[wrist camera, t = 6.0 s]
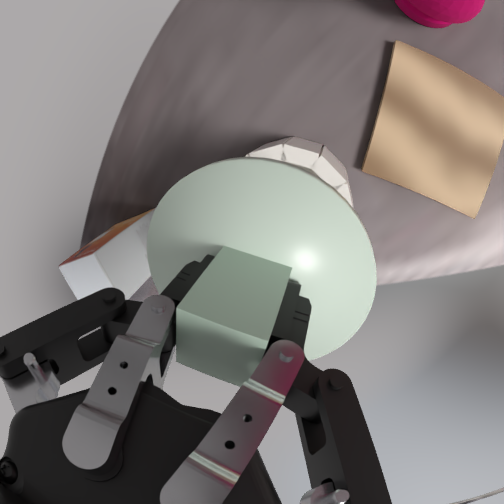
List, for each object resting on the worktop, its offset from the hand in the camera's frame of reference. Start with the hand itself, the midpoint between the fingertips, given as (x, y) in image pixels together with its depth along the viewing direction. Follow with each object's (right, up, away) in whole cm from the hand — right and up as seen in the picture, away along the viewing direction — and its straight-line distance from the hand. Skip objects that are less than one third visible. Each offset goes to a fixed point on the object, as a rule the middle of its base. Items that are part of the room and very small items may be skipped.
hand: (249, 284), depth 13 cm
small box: (-13, +4, +20) cm, 24 cm away
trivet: (+16, +12, +5) cm, 21 cm away
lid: (0, 0, +1) cm, 1 cm away
